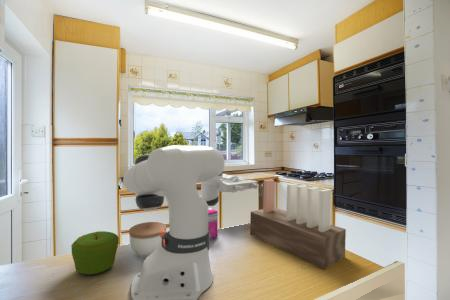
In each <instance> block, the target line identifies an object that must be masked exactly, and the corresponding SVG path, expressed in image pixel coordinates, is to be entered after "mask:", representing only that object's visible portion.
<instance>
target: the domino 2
mask: <svg viewBox="0 0 450 300" xmlns="http://www.w3.org/2000/svg"><path fill="white" fill-rule="evenodd" d="M297 186H299V184H298V183H289V184H286V208H285V209H286V210H285V211H286V220H288V221H291V220H295V219H296V209H297Z"/></svg>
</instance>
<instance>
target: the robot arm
mask: <svg viewBox="0 0 450 300" xmlns="http://www.w3.org/2000/svg"><path fill="white" fill-rule="evenodd" d="M224 169H225V157H224V155H223V153H222V152H221V151H220V150H219V149H217V148H214V147H211V146H208V145H187V144H186V145H182V144H181V145H180V144H179V145H178V144H177V145H166V146H162V147H159V148H156V149H154V150H152V151H151V152H150V153H146V154H143V155H142V154H141V155H139V156H138V157H136V159H135V162H134V165H132V166H131V167H129V168H128V169H127V170H126V171H125V173H124V175H123V178H122V182H123V186H124V188H125V189H126V190H127V191H128V192H130V193H133V194H134V195H135V198H134V199H135V204H136V206H137V208H138V209H140V210H143V211H148V212H149V211H155V210H157V209H158V208H160V207H162V205H164V201H165V200H166V202H167V206H168V207H167V208H168V222H169V223H168V227H169V228H168V231H167V229H166V230H162V231H161V232H160V237H161V238H162V246H160V247H159V248H158V249H157V250H155V251H154V252H153V253H152V254H150V255H149V256H148V257H147V258H144V259H145V260H144V261H143V263H142V266H141V269H140V271H139V272H138V273H137V274H136V275H135V276H134V277H133V280H132V282H131V288H130V298H131V300H199V297H200V296H201V294H202V293H203V292H204V291H207V290H208V288H209V287H210V286H211V285H212V284H213V282H214V276H213V271H212V269H211V261H210V254H209V251H210V247H211V239H210V234H209V230H208V208H209V207H214V206H216V205H217V204H218V203H219V199H220V197H219V195H220V194H219V192H220V193H236V192H238V191H240V192H243V191H245V190H246V191H247V190H251V189H252V190H253V189H255V190H256V189H259V185H258V181H257V180H251V179H243V180H241V178H239V176H237V175H232V174H227V173H222V172H223V171H224ZM199 183H201V187H200V195H199V193H198V189H197V184H199Z"/></svg>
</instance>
